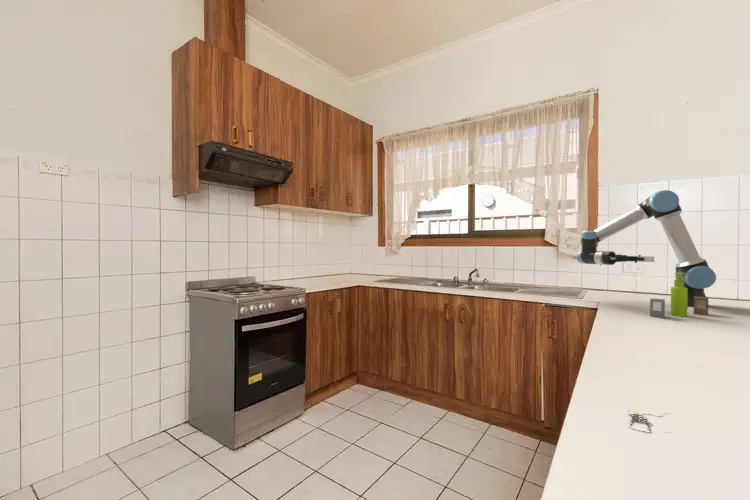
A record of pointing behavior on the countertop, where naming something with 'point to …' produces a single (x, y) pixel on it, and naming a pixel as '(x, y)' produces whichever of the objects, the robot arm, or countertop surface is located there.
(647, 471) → the countertop surface
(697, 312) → the brown wooden block
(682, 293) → the soap dispenser
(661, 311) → the grey rectangular block
